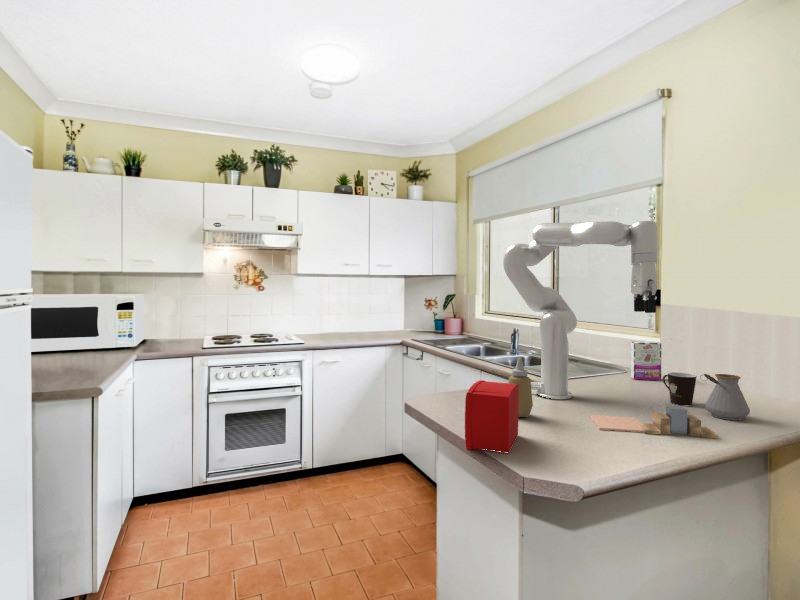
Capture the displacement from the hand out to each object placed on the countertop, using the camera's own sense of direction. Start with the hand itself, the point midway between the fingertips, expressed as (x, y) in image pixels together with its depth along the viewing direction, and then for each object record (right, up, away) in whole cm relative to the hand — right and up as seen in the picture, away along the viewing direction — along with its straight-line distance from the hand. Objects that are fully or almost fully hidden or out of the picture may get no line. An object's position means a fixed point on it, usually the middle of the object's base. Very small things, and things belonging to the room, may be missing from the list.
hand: (644, 312), depth 150 cm
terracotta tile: (-16, -33, -15) cm, 39 cm away
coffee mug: (+18, -32, +11) cm, 39 cm away
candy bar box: (+28, -31, +51) cm, 66 cm away
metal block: (-3, -33, -22) cm, 40 cm away
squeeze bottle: (-43, -32, -7) cm, 54 cm away
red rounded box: (-56, -33, -30) cm, 72 cm away
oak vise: (-3, -33, -22) cm, 40 cm away
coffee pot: (+18, -33, -9) cm, 39 cm away
